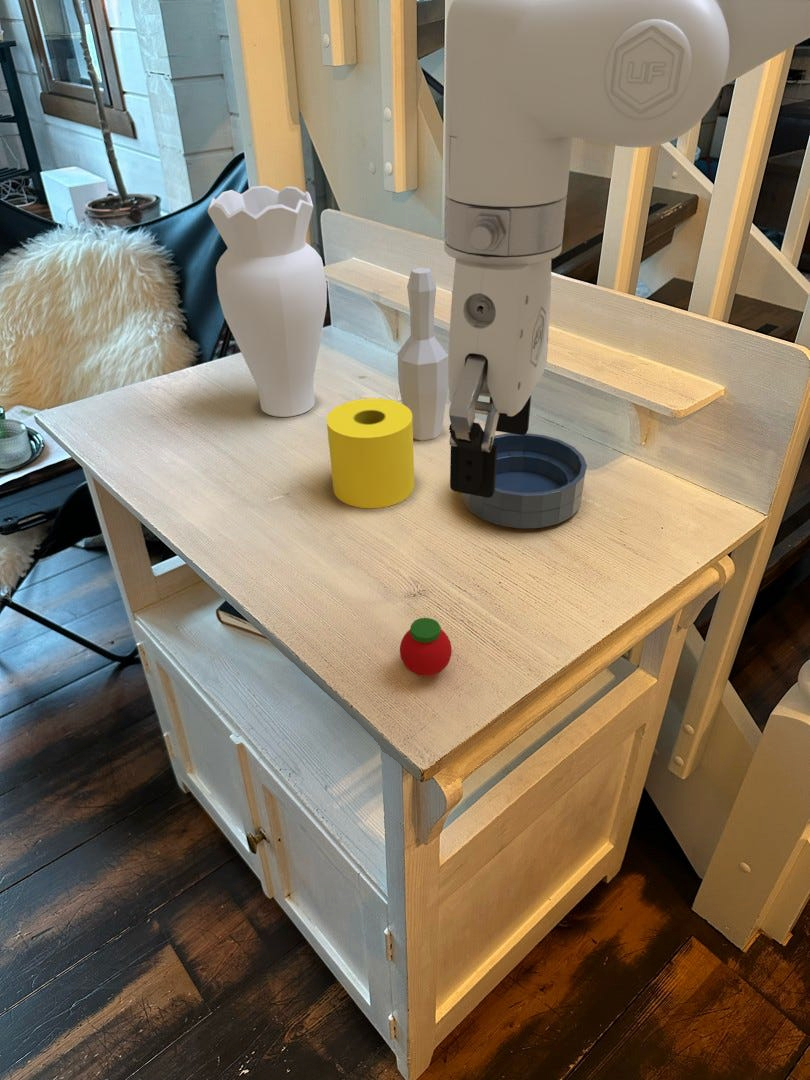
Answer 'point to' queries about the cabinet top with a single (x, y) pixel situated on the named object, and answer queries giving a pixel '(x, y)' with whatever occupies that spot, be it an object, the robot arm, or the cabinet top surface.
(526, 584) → the cabinet top surface
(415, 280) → the faceted bottle
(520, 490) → the bowl
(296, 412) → the vase
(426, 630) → the toy tomato
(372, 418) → the yellow toilet paper roll
